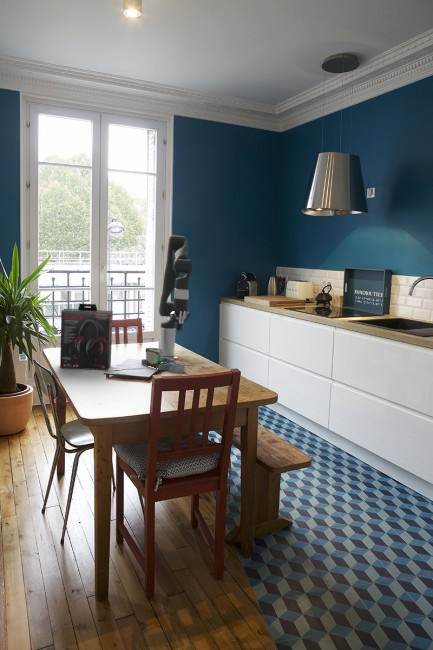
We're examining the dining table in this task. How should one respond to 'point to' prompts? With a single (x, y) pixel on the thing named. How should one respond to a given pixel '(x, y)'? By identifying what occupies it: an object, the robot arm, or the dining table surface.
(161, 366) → the frame
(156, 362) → the food container
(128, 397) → the dining table surface
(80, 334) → the headset box
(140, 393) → the dining table surface
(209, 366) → the dining table surface
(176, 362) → the pin
